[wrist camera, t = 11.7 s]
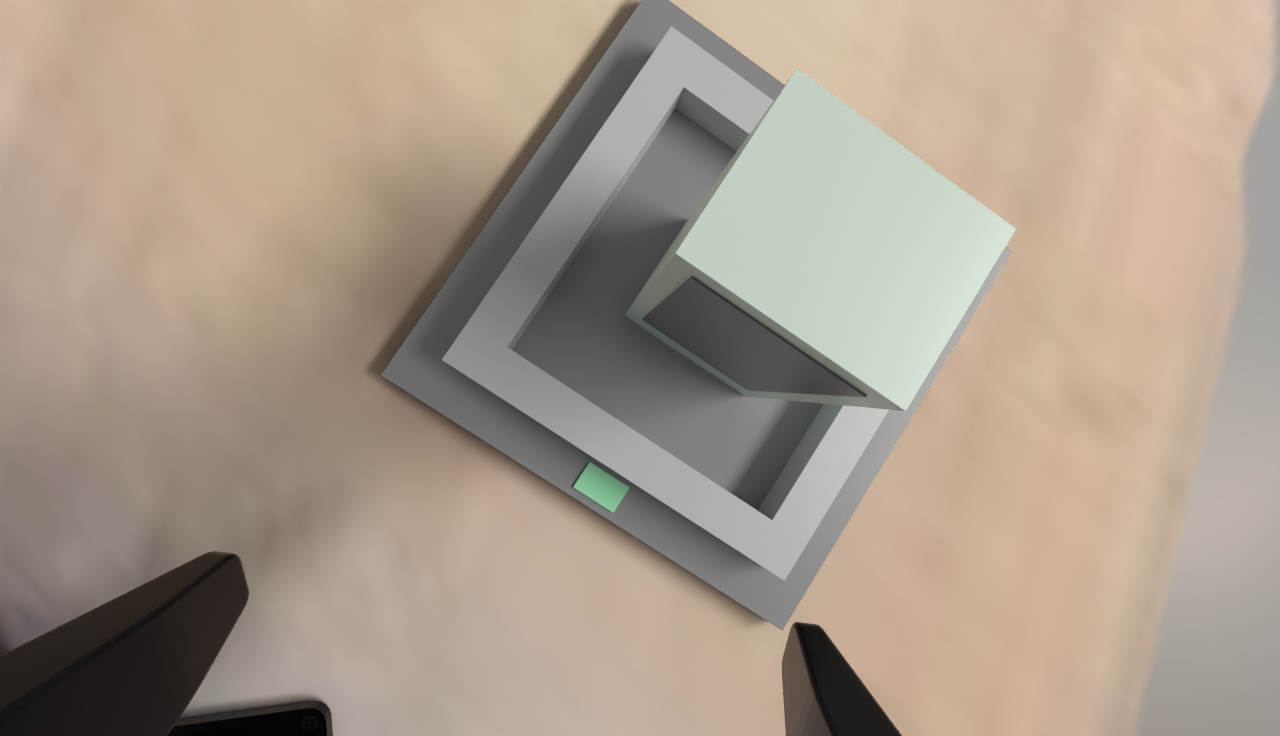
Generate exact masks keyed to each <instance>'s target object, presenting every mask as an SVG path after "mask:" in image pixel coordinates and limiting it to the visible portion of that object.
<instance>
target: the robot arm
mask: <svg viewBox="0 0 1280 736" xmlns="http://www.w3.org/2000/svg"><path fill="white" fill-rule="evenodd" d="M248 596H249V589H248V585H247V581H246V578H245V574H244V570H243V566H242V563H241V560H240V558H239V557H238V556H237V555H236V554H233V553H224V552H216V551H214V552H208V553H206V554H203V555H201V556H199V557H197V558H195V559H193V560H191V561H189V562H187V563H185V564H183V565H181V566H179V567H177V568H175V569H173V570H171V571H169V572H167V573H165V574H163V575H161V576H159V577H157V578H155V579H153V580H151V581H149V582H147V583H145V584H143V585H141V586H139V587H137V588H135V589H133V590H131V591H129V592H127V593H125V594H123V595H121V596H119V597H117V598H115V599H113V600H111V601H109V602H107V603H105V604H103V605H101V606H99V607H97V608H95V609H93V610H91V611H89V612H87V613H85V614H83V615H81V616H79V617H77V618H75V619H73V620H71V621H69V622H67V623H65V624H63V625H61V626H59V627H57V628H55V629H53V630H51V631H49V632H47V633H45V634H43V635H41V636H39V637H37V638H35V639H33V640H31V641H29V642H27V643H25V644H23V645H21V646H19V647H17V648H15V649H13V650H11V651H9V652H7V653H5V654H3V655H1V656H0V736H333V732H332V719H331V712H330V709H329V708H328V706H327V705H326V704H324V703H322V702H319V701H312V702H305V703H297V704H290V705H283V706H275V707H268V708H260V709H253V710H246V711H238V712H231V713H224V714H216V715H209V716H202V717H194V718H187V719H180V720H178V719H179V718H180V716H181V715H182V713H183V712H184V710H185V709H186V707H187V706H188V704H189V703H190V701H191V700H192V698H193V696H194V695H195V693H196V691H197V690H198V688H199V686H200V685H201V683H202V681H203V680H204V678H205V676H206V674H207V673H208V671H209V669H210V667H211V666H212V664H213V662H214V660H215V659H216V657H217V655H218V653H219V652H220V650H221V648H222V646H223V645H224V643H225V641H226V639H227V638H228V636H229V634H230V632H231V631H232V629H233V627H234V625H235V624H236V622H237V620H238V618H239V617H240V615H241V613H242V611H243V609H244V608H245V606H246V603H247V600H248ZM782 681H783V697H784V712H785V728H786V736H902V735H901V734H900V732H899V731H898V730H897V728H896V727H895V726H894V724H893V723H892V722H891V720H890V719H889V718H888V716H887V715H886V714H885V712H884V711H883V709H882V708H881V707H880V705H879V704H878V703H877V701H876V700H875V699H874V697H873V696H872V695H871V693H870V692H869V691H868V689H867V688H866V687H865V685H864V684H863V683H862V681H861V680H860V678H859V677H858V676H857V674H856V673H855V672H854V670H853V669H852V668H851V666H850V665H849V664H848V662H847V661H846V660H845V658H844V657H843V656H842V654H841V653H840V651H839V650H838V649H837V647H836V646H835V645H834V643H833V642H832V641H831V639H830V638H829V637H828V635H827V634H826V633H825V631H824V630H823V629H822V628H821V627H820V626H819V625H816V624H809V623H801V622H796V623H794V624H793V625H792V627H791V629H790V633H789V637H788V640H787V644H786V648H785V651H784V655H783V660H782ZM307 716H314V717H315V718H317V720H318V724H316V725H314V724H310V723H309V722H308V720H307Z"/></svg>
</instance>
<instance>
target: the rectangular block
mask: <svg viewBox="0 0 1280 736" xmlns="http://www.w3.org/2000/svg"><path fill="white" fill-rule="evenodd" d="M1015 230H1016V229H1015V228H1014V227H1013V226H1011V225H1010V224H1009V223H1007V222H1006V221H1004V220H1003V219H1002V218H1000V217H999V216H998V215H996V214H995V213H993V212H992V211H991V210H989V209H988V208H987V207H985V206H984V205H983V204H981V203H980V202H978V201H977V200H976V199H974V198H973V197H972V196H970V195H969V194H968V193H966V192H965V191H963V190H962V189H961V188H959V187H958V186H957V185H955V184H954V183H953V182H951V181H950V180H948V179H947V178H946V177H944V176H943V175H942V174H940V173H939V172H937V171H936V170H935V169H933V168H932V167H931V166H929V165H928V164H927V163H925V162H924V161H922V160H921V159H920V158H918V157H917V156H916V155H914V154H913V153H912V152H910V151H909V150H907V149H906V148H905V147H903V146H902V145H901V144H899V143H898V142H897V141H895V140H894V139H892V138H891V137H890V136H888V135H887V134H886V133H884V132H883V131H882V130H880V129H879V128H877V127H876V126H875V125H873V124H872V123H871V122H869V121H868V120H866V119H865V118H864V117H862V116H861V115H860V114H858V113H857V112H856V111H854V110H853V109H851V108H850V107H849V106H847V105H846V104H845V103H843V102H842V101H841V100H839V99H838V98H836V97H835V96H834V95H832V94H831V93H830V92H828V91H827V90H826V89H824V88H823V87H821V86H820V85H819V84H817V83H816V82H815V81H813V80H812V79H811V78H809V77H808V76H806V75H805V74H804V73H802V72H801V71H800V70H798V69H796V71H795V72H794V73H793V75H792V76H791V78H790V79H789V80H788V82H787V83H786V84H785V86H784V87H783V89H782V90H781V91H780V93H779V94H778V95H777V97H776V98H775V100H774V101H773V102H772V104H771V105H770V107H769V108H768V109H767V111H766V112H765V113H764V115H763V116H762V118H761V119H760V120H759V122H758V123H757V124H756V126H755V127H754V129H753V130H752V131H751V133H750V134H749V135H748V137H747V138H746V140H745V141H744V142H743V144H742V145H741V147H740V148H739V149H738V151H737V152H736V153H735V155H734V156H733V158H732V159H731V160H730V162H729V163H728V164H727V166H726V167H725V169H724V170H723V171H722V173H721V174H720V175H719V177H718V178H717V180H716V181H715V182H714V184H713V185H712V187H711V188H710V189H709V191H708V192H707V193H706V195H705V196H704V198H703V199H702V200H701V202H700V203H699V204H698V206H697V207H696V209H695V210H694V211H693V213H692V214H691V215H690V217H689V218H688V220H687V221H686V223H685V224H684V226H683V227H682V229H681V230H680V232H679V233H678V235H677V236H676V238H675V239H674V241H673V242H672V244H671V245H670V247H669V248H668V250H667V251H666V253H665V254H664V256H663V258H662V259H661V261H660V262H659V264H658V265H657V267H656V268H655V270H654V271H653V273H652V274H651V276H650V277H649V279H648V280H647V282H646V283H645V285H644V286H643V288H642V289H641V291H640V292H639V294H638V295H637V297H636V298H635V300H634V301H633V303H632V304H631V306H630V308H629V309H628V311H627V312H626V314H625V315H624V316H625V317H627V318H628V319H630V320H631V321H633V322H634V323H636V324H637V325H639V326H640V327H642V328H643V329H645V330H646V331H648V332H649V333H651V334H652V335H654V336H655V337H657V338H658V339H660V340H661V341H663V342H664V343H666V344H667V345H669V346H670V347H672V348H673V349H675V350H676V351H678V352H679V353H681V354H682V355H684V356H685V357H687V358H688V359H690V360H691V361H693V362H694V363H696V364H697V365H699V366H700V367H701V368H703V369H704V370H706V371H707V372H709V373H710V374H712V375H713V376H715V377H716V378H718V379H719V380H721V381H722V382H724V383H725V384H727V385H728V386H730V387H731V388H733V389H734V390H736V391H737V392H739V393H740V394H742V395H743V396H746V397H757V398H768V399H779V400H790V401H801V402H812V403H822V404H833V405H844V406H855V407H866V408H877V409H888V410H899V411H906V410H907V408H908V407H909V405H910V403H911V402H912V400H913V398H914V397H915V395H916V394H917V392H918V390H919V389H920V387H921V385H922V384H923V382H924V380H925V379H926V377H927V375H928V374H929V372H930V370H931V369H932V367H933V365H934V364H935V362H936V360H937V359H938V357H939V355H940V354H941V352H942V351H943V349H944V347H945V346H946V344H947V342H948V341H949V339H950V337H951V336H952V334H953V332H954V331H955V329H956V327H957V326H958V324H959V322H960V321H961V319H962V317H963V316H964V314H965V312H966V311H967V309H968V308H969V306H970V304H971V303H972V301H973V299H974V298H975V296H976V294H977V293H978V291H979V289H980V288H981V286H982V284H983V283H984V281H985V279H986V278H987V276H988V274H989V273H990V271H991V269H992V268H993V266H994V265H995V263H996V261H997V260H998V258H999V256H1000V255H1001V253H1002V251H1003V250H1004V248H1005V246H1006V245H1007V243H1008V241H1009V240H1010V238H1011V236H1012V235H1013V233H1014V231H1015Z"/></svg>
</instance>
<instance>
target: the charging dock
mask: <svg viewBox="0 0 1280 736" xmlns="http://www.w3.org/2000/svg"><path fill="white" fill-rule="evenodd" d="M784 86H785V85H784V84H782V83H781V82H780V81H778V80H777V79H776V78H774V77H773V76H772V75H770V74H769V73H767V72H766V71H765V70H763V69H762V68H761V67H759V66H758V65H757V64H755V63H754V62H752V61H751V60H750V59H748V58H747V57H746V56H744V55H743V54H741V53H740V52H739V51H737V50H736V49H735V48H733V47H732V46H731V45H729V44H728V43H726V42H725V41H724V40H722V39H721V38H720V37H718V36H717V35H715V34H714V33H713V32H711V31H710V30H709V29H707V28H706V27H705V26H703V25H702V24H700V23H699V22H698V21H696V20H695V19H694V18H692V17H691V16H690V15H688V14H687V13H685V12H684V11H683V10H681V9H680V8H679V7H677V6H676V5H674V4H673V3H672V2H670V1H669V0H642V1H641V2H640V4H639V5H638V7H637V8H636V9H635V11H634V12H633V14H632V15H631V17H630V18H629V20H628V21H627V22H626V24H625V25H624V27H623V28H622V30H621V31H620V32H619V34H618V35H617V37H616V38H615V40H614V41H613V43H612V44H611V45H610V47H609V48H608V50H607V51H606V53H605V54H604V55H603V57H602V58H601V60H600V61H599V63H598V64H597V65H596V67H595V68H594V70H593V71H592V73H591V74H590V76H589V77H588V78H587V80H586V81H585V83H584V84H583V86H582V87H581V88H580V90H579V91H578V93H577V94H576V96H575V97H574V99H573V100H572V101H571V103H570V104H569V106H568V107H567V109H566V110H565V111H564V113H563V114H562V116H561V117H560V119H559V120H558V122H557V123H556V124H555V126H554V127H553V129H552V130H551V132H550V133H549V134H548V136H547V137H546V139H545V140H544V142H543V143H542V144H541V146H540V147H539V149H538V150H537V152H536V153H535V155H534V156H533V157H532V159H531V160H530V162H529V163H528V165H527V166H526V167H525V169H524V170H523V172H522V173H521V175H520V176H519V178H518V179H517V180H516V182H515V183H514V185H513V186H512V188H511V189H510V190H509V192H508V193H507V195H506V196H505V198H504V199H503V200H502V202H501V203H500V205H499V206H498V208H497V209H496V211H495V212H494V213H493V215H492V216H491V218H490V219H489V221H488V222H487V223H486V225H485V226H484V228H483V229H482V231H481V232H480V234H479V235H478V236H477V238H476V239H475V241H474V242H473V244H472V245H471V246H470V248H469V249H468V251H467V252H466V254H465V255H464V256H463V258H462V259H461V261H460V262H459V264H458V265H457V267H456V268H455V269H454V271H453V272H452V274H451V275H450V277H449V278H448V279H447V281H446V282H445V284H444V285H443V287H442V288H441V290H440V291H439V292H438V294H437V295H436V297H435V298H434V300H433V301H432V302H431V304H430V305H429V307H428V308H427V310H426V311H425V312H424V314H423V315H422V317H421V318H420V320H419V321H418V323H417V324H416V325H415V327H414V328H413V330H412V331H411V333H410V334H409V335H408V337H407V338H406V340H405V341H404V343H403V344H402V346H401V347H400V348H399V350H398V351H397V353H396V354H395V356H394V357H393V358H392V360H391V361H390V363H389V364H388V366H387V367H386V368H385V370H384V371H383V373H382V374H381V376H383V377H384V378H386V379H387V380H389V381H391V382H392V383H394V384H395V385H397V386H398V387H400V388H402V389H403V390H405V391H406V392H408V393H409V394H411V395H413V396H414V397H416V398H417V399H419V400H420V401H422V402H424V403H425V404H427V405H428V406H430V407H431V408H433V409H435V410H436V411H438V412H439V413H441V414H442V415H444V416H446V417H447V418H449V419H450V420H452V421H453V422H455V423H457V424H458V425H460V426H461V427H463V428H464V429H466V430H468V431H469V432H471V433H472V434H474V435H475V436H477V437H479V438H480V439H482V440H483V441H485V442H486V443H488V444H490V445H491V446H493V447H494V448H496V449H497V450H499V451H501V452H502V453H504V454H505V455H507V456H508V457H510V458H512V459H513V460H515V461H516V462H518V463H519V464H521V465H523V466H524V467H526V468H527V469H529V470H531V471H532V472H534V473H535V474H537V475H538V476H540V477H542V478H543V479H545V480H546V481H548V482H549V483H551V484H553V485H554V486H556V487H557V488H559V489H560V490H562V491H564V492H565V493H567V494H568V495H570V496H571V497H573V498H575V499H576V500H578V501H579V502H581V503H582V504H584V505H586V506H587V507H589V508H590V509H592V510H593V511H595V512H597V513H598V514H600V515H601V516H603V517H604V518H606V519H608V520H609V521H611V522H612V523H614V524H615V525H617V526H619V527H620V528H622V529H623V530H625V531H626V532H628V533H630V534H631V535H633V536H634V537H636V538H637V539H639V540H641V541H642V542H644V543H645V544H647V545H648V546H650V547H652V548H653V549H655V550H656V551H658V552H659V553H661V554H663V555H664V556H666V557H667V558H669V559H670V560H672V561H674V562H675V563H677V564H678V565H680V566H682V567H683V568H685V569H686V570H688V571H689V572H691V573H693V574H694V575H696V576H697V577H699V578H700V579H702V580H704V581H705V582H707V583H708V584H710V585H711V586H713V587H715V588H716V589H718V590H719V591H721V592H722V593H724V594H726V595H727V596H729V597H730V598H732V599H733V600H735V601H737V602H738V603H740V604H741V605H743V606H744V607H746V608H748V609H749V610H751V611H752V612H754V613H755V614H757V615H759V616H760V617H762V618H763V619H765V620H766V621H768V622H770V623H771V624H773V625H774V626H776V627H777V628H779V629H781V630H783V628H784V627H785V625H786V624H787V622H788V620H789V619H790V617H791V615H792V614H793V612H794V610H795V609H796V607H797V605H798V604H799V602H800V600H801V599H802V597H803V595H804V594H805V592H806V591H807V589H808V587H809V586H810V584H811V582H812V581H813V579H814V577H815V576H816V574H817V572H818V571H819V569H820V567H821V566H822V564H823V563H824V561H825V559H826V558H827V556H828V554H829V553H830V551H831V549H832V548H833V546H834V544H835V543H836V541H837V539H838V538H839V536H840V534H841V533H842V531H843V530H844V528H845V526H846V525H847V523H848V521H849V520H850V518H851V516H852V515H853V513H854V511H855V510H856V508H857V506H858V505H859V503H860V501H861V500H862V498H863V497H864V495H865V493H866V492H867V490H868V488H869V487H870V485H871V483H872V482H873V480H874V478H875V477H876V475H877V473H878V472H879V470H880V469H881V467H882V465H883V464H884V462H885V460H886V459H887V457H888V455H889V454H890V452H891V450H892V449H893V447H894V445H895V444H896V442H897V440H898V439H899V437H900V436H901V434H902V432H903V431H904V429H905V427H906V426H907V424H908V422H909V421H910V419H911V417H912V416H913V414H914V412H915V411H916V409H917V408H918V406H919V404H920V403H921V401H922V399H923V398H924V396H925V394H926V393H927V391H928V389H929V388H930V386H931V384H932V383H933V381H934V379H935V378H936V376H937V375H938V373H939V371H940V370H941V368H942V366H943V365H944V363H945V361H946V360H947V358H948V356H949V355H950V353H951V351H952V350H953V348H954V347H955V345H956V343H957V342H958V340H959V338H960V337H961V335H962V333H963V332H964V330H965V328H966V327H967V325H968V323H969V322H970V320H971V318H972V317H973V315H974V314H975V312H976V310H977V309H978V307H979V305H980V304H981V302H982V300H983V299H984V297H985V295H986V294H987V292H988V290H989V289H990V287H991V286H992V284H993V282H994V281H995V279H996V277H997V276H998V274H999V272H1000V271H1001V269H1002V267H1003V266H1004V264H1005V262H1006V261H1007V259H1008V257H1009V256H1010V254H1011V253H1012V251H1011V250H1009V249H1008V248H1007V247H1005V248H1004V250H1003V251H1002V253H1001V255H1000V256H999V258H998V260H997V261H996V263H995V265H994V266H993V268H992V269H991V271H990V273H989V274H988V276H987V278H986V279H985V281H984V283H983V284H982V286H981V288H980V289H979V291H978V293H977V294H976V296H975V298H974V299H973V301H972V303H971V304H970V306H969V308H968V309H967V311H966V312H965V314H964V316H963V317H962V319H961V321H960V322H959V324H958V326H957V327H956V329H955V331H954V332H953V334H952V336H951V337H950V339H949V341H948V342H947V344H946V346H945V347H944V349H943V351H942V352H941V354H940V355H939V357H938V359H937V360H936V362H935V364H934V365H933V367H932V369H931V370H930V372H929V374H928V375H927V377H926V379H925V380H924V382H923V384H922V385H921V387H920V389H919V390H918V392H917V394H916V395H915V397H914V398H913V400H912V402H911V403H910V405H909V407H908V408H907V410H906V411H899V410H888V409H877V408H866V407H855V406H844V405H833V404H822V403H812V402H801V401H790V400H779V399H768V398H757V397H746V396H743V395H742V394H740V393H739V392H737V391H736V390H734V389H733V388H731V387H730V386H728V385H727V384H725V383H724V382H722V381H721V380H719V379H718V378H716V377H715V376H713V375H712V374H710V373H709V372H707V371H706V370H704V369H703V368H701V367H700V366H699V365H697V364H696V363H694V362H693V361H691V360H690V359H688V358H687V357H685V356H684V355H682V354H681V353H679V352H678V351H676V350H675V349H673V348H672V347H670V346H669V345H667V344H666V343H664V342H663V341H661V340H660V339H658V338H657V337H655V336H654V335H652V334H651V333H649V332H648V331H646V330H645V329H643V328H642V327H640V326H639V325H637V324H636V323H634V322H633V321H631V320H630V319H628V318H627V317H625V316H624V315H625V314H626V312H627V311H628V309H629V308H630V306H631V304H632V303H633V301H634V300H635V298H636V297H637V295H638V294H639V292H640V291H641V289H642V288H643V286H644V285H645V283H646V282H647V280H648V279H649V277H650V276H651V274H652V273H653V271H654V270H655V268H656V267H657V265H658V264H659V262H660V261H661V259H662V258H663V256H664V254H665V253H666V251H667V250H668V248H669V247H670V245H671V244H672V242H673V241H674V239H675V238H676V236H677V235H678V233H679V232H680V230H681V229H682V227H683V226H684V224H685V223H686V221H687V220H688V218H689V217H690V215H691V214H692V213H693V211H694V210H695V209H696V207H697V206H698V204H699V203H700V202H701V200H702V199H703V198H704V196H705V195H706V193H707V192H708V191H709V189H710V188H711V187H712V185H713V184H714V182H715V181H716V180H717V178H718V177H719V175H720V174H721V173H722V171H723V170H724V169H725V167H726V166H727V164H728V163H729V162H730V160H731V159H732V158H733V156H734V155H735V153H736V152H737V151H738V149H739V148H740V147H741V145H742V144H743V142H744V141H745V140H746V138H747V137H748V135H749V134H750V133H751V131H752V130H753V129H754V127H755V126H756V124H757V123H758V122H759V120H760V119H761V118H762V116H763V115H764V113H765V112H766V111H767V109H768V108H769V107H770V105H771V104H772V102H773V101H774V100H775V98H776V97H777V95H778V94H779V93H780V91H781V90H782V89H783V87H784Z"/></svg>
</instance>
